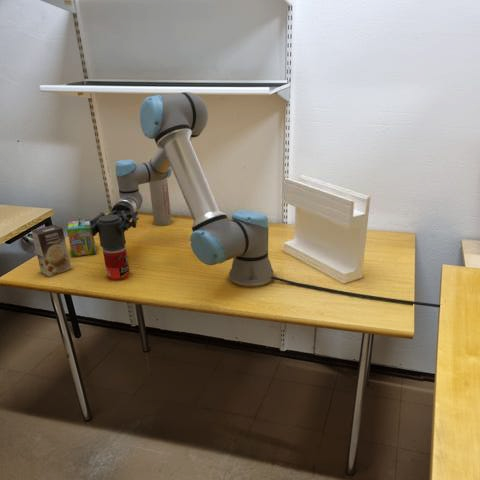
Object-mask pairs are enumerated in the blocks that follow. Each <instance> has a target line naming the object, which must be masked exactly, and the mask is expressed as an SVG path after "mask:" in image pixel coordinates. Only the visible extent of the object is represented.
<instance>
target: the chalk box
mask: <svg viewBox="0 0 480 480" xmlns="http://www.w3.org/2000/svg"><path fill="white" fill-rule="evenodd" d="M90 220H91V219H83V220H81V214H79V217H78V220H71V221H67V223H66V232H67V233H66V234H67V237H68V242H69V246H70V251H71V252H70V253H71V256H72V257H73V258H74V257H80V256H91V255H96V251H97V249H96V248H97V247H96V241H95V236H92V231H91V224H90Z"/></svg>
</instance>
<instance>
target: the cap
mask: <svg viewBox="0 0 480 480" xmlns="http://www.w3.org/2000/svg"><path fill="white" fill-rule="evenodd" d="M96 222H97V228H98V233H97V234H98V237H99V245H100V247H101V248H102V249H103V248H108V249H111V248H118V247H121V246H123V245H125V246H126V244H127V240H126V236H125V232H124V233H123V235H122V236H119V230H118V228H119V226H120V225H121V224H122V218H121V217H119V216H118V215H113V214H111V215H104V216H101V217H99V219H98V220H97V221H96Z"/></svg>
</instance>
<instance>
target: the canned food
mask: <svg viewBox="0 0 480 480" xmlns="http://www.w3.org/2000/svg"><path fill="white" fill-rule="evenodd" d="M102 255H103V259H104V265H105V270H106V275H107V278H108V279H109V280H112V281H124V280H126V279H128V278H129V277H130V273H131V272H130V266H129V258H128V252H127V247H126V244H125V245H123V246H121V247H118V248H111V249H108V248H103V247H102Z"/></svg>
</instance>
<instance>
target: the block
mask: <svg viewBox="0 0 480 480" xmlns="http://www.w3.org/2000/svg"><path fill="white" fill-rule="evenodd" d="M298 180H299V181H297V180H294V179H292V178H289V177H284V184H283V190H284V191H283V203H285V204H287V205H290V206H292V207H294V236H293V238H292V239H291V240H288V241H284V242H283V246H282V248H283V249H282V250H283V252H285V254H288V255H290V256H292V257H294V258H295V259H297V260H298V261H301V262H302V263H305V264H307V265H309V266H310V267H312V268H314V269H315V270H318V271H319V272H321V273H323V274H325V275H327V276H329V277H331V278H332V279H334V280H336V281H338V282H340V283H341V284H346V283H350V282H352V281H353V282H354V281H356V280H359V279H362V278H363V271H364V260H365V252H366V251H365V250H366V243H367V231H368V224H369V214H370V205H371V195H367V194H364V193H361V192H358V191H355V190H351V189H348V188H345V187H342V186H339V185H336V184H333V183H329V182H326V181H323V180H320V179H317V178H314V177H310V176H308V175H305V174H300V175H299V176H298Z"/></svg>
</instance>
